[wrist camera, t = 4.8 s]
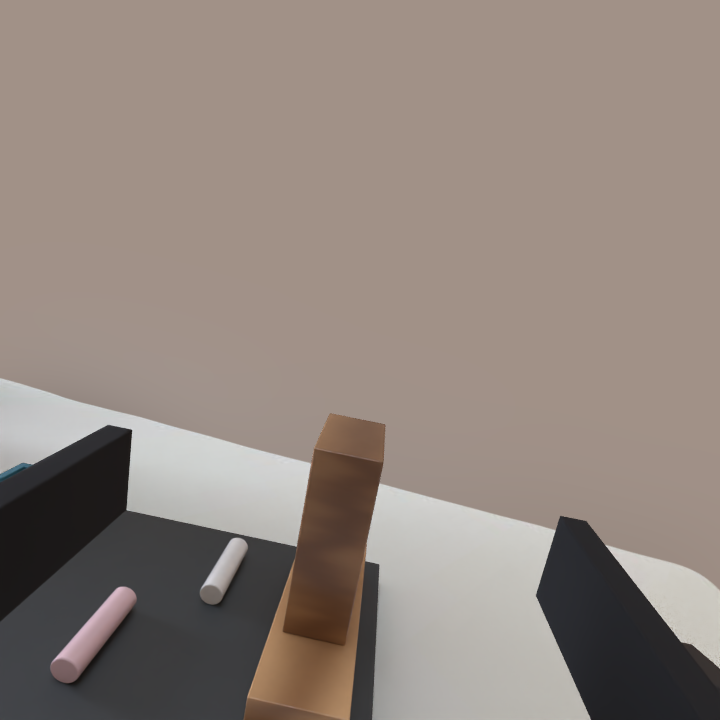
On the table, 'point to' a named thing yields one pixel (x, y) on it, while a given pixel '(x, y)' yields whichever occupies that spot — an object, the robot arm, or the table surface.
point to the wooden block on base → (323, 582)
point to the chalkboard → (160, 628)
